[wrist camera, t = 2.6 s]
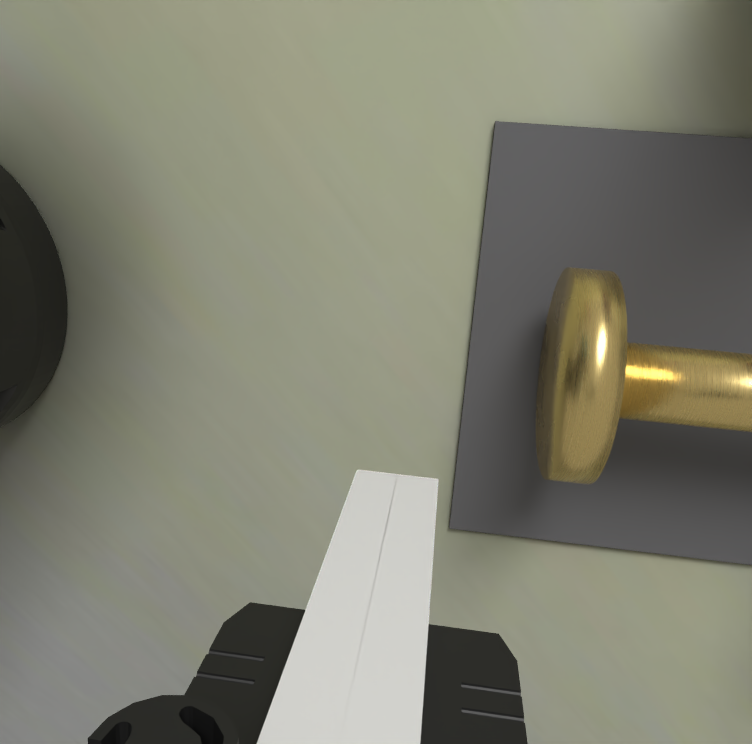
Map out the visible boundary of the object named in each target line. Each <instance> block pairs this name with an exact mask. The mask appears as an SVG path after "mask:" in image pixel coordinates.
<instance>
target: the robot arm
mask: <svg viewBox="0 0 752 744" xmlns="http://www.w3.org/2000/svg"><path fill="white" fill-rule="evenodd" d="M66 326H67V295H66V286H65V280H64V275H63V270H62V266H61V262H60V259H59V256H58V252H57V250H56V247H55V244H54V242H53V239H52V237H51V235H50V232H49V230H48V228H47V226H46V224H45V222H44V220H43V218H42V217H41V215H40V213H39V212H38V210H37V208H36V207H35V205H34V204H33V202H32V201H31V199H30V198H29V196H28V195H27V194H26V192H25V191H24V190H23V189H22V187H21V186H20V185H19V184H18V182H17V181H16V180H15V179H14V178H13V177H12V176H11V175H10V174H9V173H8V172H7V171H6V170H5V169H4V168H3V167H2V166H1V165H0V427H2V426H3V425H5V424H7V423H9V422H11V421H12V420H14V419H15V418H17V417H18V416H19V415H20V414H22V413H23V412H24V411H25V410H26V409H28V408H29V407H30V406H31V405H32V404H33V403H34V401H35V400H36V399H37V398H38V397H39V396H40V394H41V393H42V392H43V390H44V389H45V387H46V386H47V384H48V382H49V381H50V379H51V377H52V375H53V373H54V371H55V369H56V366H57V364H58V361H59V359H60V355H61V352H62V349H63V344H64V340H65V334H66ZM437 494H438V479H435V478H426V477H417V476H409V475H400V474H392V473H383V472H374V471H366V470H357V471H356V474H355V476H354V479H353V482H352V484H351V487H350V490H349V493H348V495H347V498H346V501H345V504H344V506H343V509H342V512H341V515H340V517H339V520H338V523H337V525H336V528H335V531H334V534H333V536H332V539H331V542H330V545H329V547H328V550H327V553H326V556H325V558H324V561H323V564H322V566H321V569H320V572H319V575H318V577H317V580H316V583H315V586H314V588H313V591H312V594H311V597H310V599H309V602H308V605H307V607H306V610H301V609H294V608H287V607H280V606H272V605H265V604H258V603H249V604H247V605H246V606H245V607H243V608H242V609H241V610H240V611H238V612H237V613H236V614H234V615H233V616H232V617H231V618H229V619H228V620H227V621H225V622H224V623H223V625H222V627H221V629H220V631H219V633H218V634H217V636H216V638H215V640H214V642H213V644H212V645H211V647H210V650H209V654H207V655H206V656H205V658H204V660H203V662H202V664H201V666H200V667H199V669H198V671H197V676H196V677H194V678H193V680H192V682H191V684H190V686H189V688H188V689H187V691H186V693H185V695H161V696H158V697H154V698H150V699H146V700H143V701H139V702H135V703H133V704H131V705H129V706H127V707H126V708H124V709H122V710H120V711H119V712H117V713H115V714H113V715H112V716H110V717H108V718H107V719H106V720H105V721H104V722H103V723H102V724H101V725H100V726H99V727H98V728H97V729H96V730H95V731H94V733H93V734H92V735H91V736H90V737H89V738H88V744H527V736H526V728H525V723H524V712H523V704H522V697H521V689H520V681H519V673H518V665H517V660H516V659H515V657H514V656H513V654H512V653H511V651H510V650H509V648H508V647H507V645H506V644H505V642H504V641H503V639H502V638H501V637H500V635H499V634H496V633H489V632H481V631H474V630H467V629H459V628H452V627H445V626H437V625H430V624H429V610H430V595H431V581H432V566H433V552H434V537H435V523H436V508H437Z"/></svg>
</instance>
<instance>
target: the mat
mask: <svg viewBox="0 0 752 744" xmlns="http://www.w3.org/2000/svg"><path fill="white" fill-rule="evenodd" d="M567 267H571V268H583V269H594V270H606V271H613V272H615V273H616V274H617V276H618V277H619V279H620V282H621V284H622V288H623V292H624V297H625V303H626V313H627V342H629V343H640V344H650V345H661V346H671V347H682V348H693V349H703V350H714V351H724V352H735V353H746V354H752V138H738V137H723V136H708V135H693V134H678V133H663V132H648V131H633V130H618V129H603V128H588V127H573V126H558V125H543V124H528V123H514V122H499V121H495V127H494V136H493V145H492V154H491V163H490V171H489V180H488V189H487V198H486V207H485V215H484V224H483V233H482V242H481V251H480V260H479V268H478V277H477V286H476V295H475V304H474V312H473V321H472V330H471V339H470V348H469V357H468V365H467V374H466V383H465V392H464V401H463V409H462V418H461V427H460V436H459V445H458V454H457V462H456V471H455V480H454V489H453V498H452V506H451V515H450V524H449V528H450V529H459V530H467V531H475V532H483V533H492V534H500V535H508V536H516V537H525V538H533V539H541V540H550V541H558V542H566V543H574V544H583V545H591V546H599V547H607V548H616V549H624V550H632V551H641V552H649V553H657V554H665V555H674V556H682V557H690V558H698V559H707V560H715V561H723V562H732V563H740V564H748V565H752V432H745V431H736V430H726V429H717V428H707V427H697V426H688V425H678V424H669V423H659V422H649V421H640V420H630V419H620V418H619V421H618V426H617V430H616V434H615V438H614V442H613V445H612V449H611V452H610V455H609V457H608V460H607V463H606V465H605V467H604V469H603V471H602V473H601V475H600V476H599V478H598V479H597V480H596V481H595V482H594V483H592V484H580V483H571V482H562V481H553V480H546V479H544V478H543V477H542V475H541V473H540V469H539V465H538V459H537V450H536V400H537V385H538V375H539V366H540V357H541V350H542V343H543V337H544V331H545V326H546V321H547V316H548V311H549V307H550V303H551V299H552V296H553V293H554V289H555V287H556V284H557V281H558V279H559V277H560V275H561V273H562V271H563V270H564V269H565V268H567Z"/></svg>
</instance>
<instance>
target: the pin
mask: <svg viewBox="0 0 752 744" xmlns="http://www.w3.org/2000/svg"><path fill="white" fill-rule="evenodd" d="M619 418H620V419H630V420H640V421H649V422H659V423H669V424H678V425H688V426H697V427H707V428H717V429H726V430H736V431H745V432H752V354H746V353H735V352H724V351H714V350H703V349H693V348H682V347H671V346H661V345H650V344H640V343H629V342H627V313H626V303H625V297H624V292H623V288H622V284H621V282H620V279H619V277H618V276H617V274H616V273H615V272H613V271H606V270H594V269H583V268H571V267H567V268H565V269H564V270H563V271H562V273H561V275H560V277H559V279H558V281H557V284H556V287H555V289H554V293H553V296H552V299H551V303H550V307H549V311H548V316H547V321H546V326H545V331H544V337H543V343H542V350H541V357H540V366H539V375H538V385H537V400H536V450H537V459H538V465H539V469H540V473H541V475H542V477H543V478H544V479H546V480H553V481H562V482H571V483H580V484H592V483H594V482H595V481H596V480H597V479H598V478H599V476H600V475H601V473H602V471H603V469H604V467H605V465H606V463H607V460H608V457H609V455H610V452H611V449H612V445H613V442H614V438H615V434H616V430H617V426H618V421H619Z"/></svg>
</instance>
